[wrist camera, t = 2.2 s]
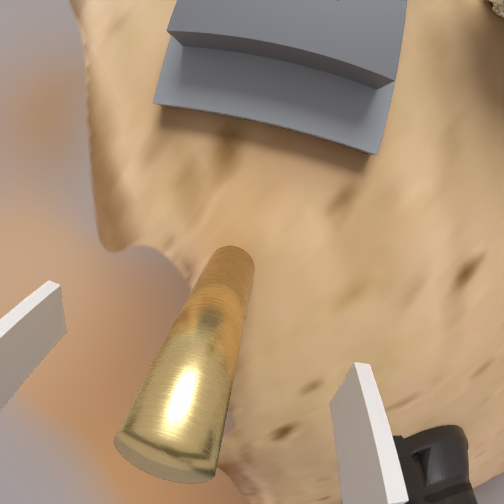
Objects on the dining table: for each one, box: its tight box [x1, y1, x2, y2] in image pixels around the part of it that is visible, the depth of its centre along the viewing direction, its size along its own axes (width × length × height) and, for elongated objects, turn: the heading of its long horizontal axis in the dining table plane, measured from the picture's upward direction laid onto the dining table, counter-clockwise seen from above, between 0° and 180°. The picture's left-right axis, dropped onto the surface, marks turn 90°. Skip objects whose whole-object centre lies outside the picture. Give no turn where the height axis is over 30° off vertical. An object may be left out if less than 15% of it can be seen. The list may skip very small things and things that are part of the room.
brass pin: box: [114, 246, 254, 484], centre depth 14 cm, size 3×3×15 cm
